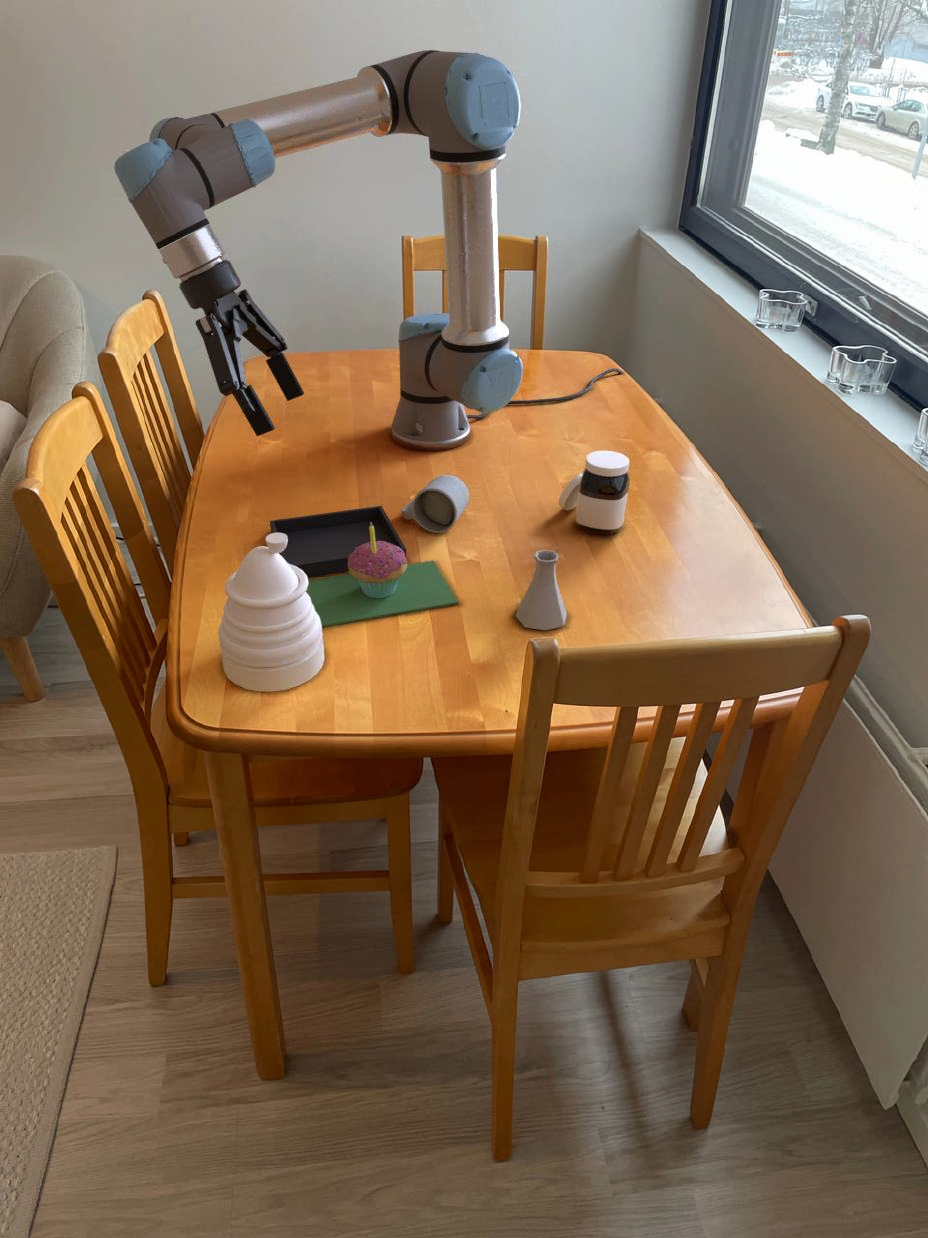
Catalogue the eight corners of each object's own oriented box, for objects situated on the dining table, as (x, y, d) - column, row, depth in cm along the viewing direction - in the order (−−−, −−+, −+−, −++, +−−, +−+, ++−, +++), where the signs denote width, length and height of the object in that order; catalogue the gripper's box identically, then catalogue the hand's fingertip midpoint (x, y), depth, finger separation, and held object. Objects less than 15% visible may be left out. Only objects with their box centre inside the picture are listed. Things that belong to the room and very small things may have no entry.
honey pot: (324, 629, 124) (315, 511, 114) (324, 688, 113) (314, 564, 103) (228, 634, 122) (209, 515, 112) (218, 694, 112) (197, 569, 102)
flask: (512, 603, 130) (516, 542, 124) (562, 602, 131) (568, 541, 125) (519, 632, 124) (523, 570, 119) (571, 631, 125) (578, 568, 119)
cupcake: (398, 609, 128) (397, 533, 121) (340, 601, 129) (335, 526, 122) (413, 577, 135) (413, 504, 128) (358, 570, 136) (354, 498, 129)
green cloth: (433, 562, 139) (433, 560, 139) (458, 604, 130) (458, 601, 129) (302, 583, 133) (302, 580, 133) (319, 628, 124) (319, 625, 124)
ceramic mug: (471, 514, 152) (472, 472, 148) (456, 537, 146) (456, 493, 141) (412, 505, 155) (410, 463, 150) (394, 527, 148) (392, 483, 144)
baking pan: (381, 518, 150) (381, 505, 149) (406, 562, 139) (406, 548, 137) (270, 534, 145) (269, 520, 144) (287, 581, 134) (285, 566, 132)
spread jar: (617, 543, 145) (626, 476, 139) (548, 530, 148) (553, 464, 142) (630, 510, 155) (639, 446, 148) (565, 499, 158) (571, 436, 151)
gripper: (214, 259, 132) (286, 392, 141) (137, 305, 111) (228, 457, 121) (257, 238, 129) (327, 375, 139) (187, 281, 109) (275, 439, 118)
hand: (281, 414), depth 130 cm, fingers open, 13 cm apart
